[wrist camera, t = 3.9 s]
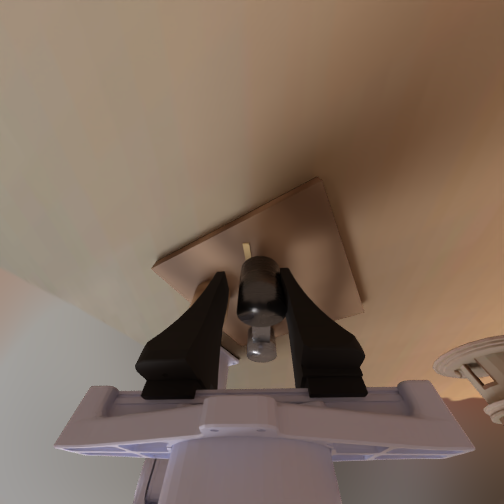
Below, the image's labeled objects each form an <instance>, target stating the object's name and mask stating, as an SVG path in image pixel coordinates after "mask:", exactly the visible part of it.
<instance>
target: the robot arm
mask: <svg viewBox="0 0 504 504" xmlns="http://www.w3.org/2000/svg"><path fill="white" fill-rule="evenodd" d="M280 277H281V283H282V287H283V293H284V298H285V304H286V310H287V313H286V316H285V317H286V321H287V326H288V331H289V338H290V346H291V353H292V361H293V369H294V378H295V386H296V388H289V389H226V383H227V374H228V366H230V365H234V364H238V363H239V360H238V359H237V358H235V357H234V356H233V355H232V354H230V353H229V352H228V351H226V350H225V349H224V348H223V347H221V337H222V330H223V324H224V319H225V315H226V310H227V305H228V298H229V287H228V282H227V278H226V274H225V271H221V272H216V274H215V275H214V277H213V278H212V280H211V281H210V283H209V284H208V286H207V287H206V289H205V290H204V291H203V293H202V294H201V295H200V296H199V298H198V299H197V300H196V301H195V302H194V304H193V305H192V306H191V307H190V308H189V309H188V310H187V311H186V312H185V313H184V314H183V315H182V316H181V317H180V318H179V319H178V320H176V321H175V322H174V323H173V324H172V325H170V326H169V327H168V328H167V329H165V330H164V331H163V332H162V333H160V334H159V335H157V336H156V337H154V338H153V339H152V340H150V341H149V342H147V344H146V345H145V347H144V349H143V351H142V353H141V355H140V357H139V359H138V361H137V363H136V365H135V368H136V370H137V372H138V373H139V374H140V375H141V376H143V377H144V378H145V379H146V380H147V381H146V384H145V386H144V389H143V391H119V390H118V389H117V388H115V387H113V386H91V387H90V388H89V390H88V392H87V393H86V395H85V396H84V398H83V400H82V401H81V403H80V404H79V406H78V407H77V409H76V411H75V412H74V414H73V416H72V417H71V419H70V420H69V422H68V423H67V425H66V427H65V428H64V430H63V431H62V433H61V435H60V436H59V438H58V439H57V441H56V443H55V444H54V448H57V449H61V450H65V451H69V452H74V453H77V454H82V455H86V456H122V457H140V458H146V459H145V462H144V465H143V468H142V471H141V474H140V477H139V481H138V484H137V488H136V491H135V495H134V501H133V504H342V500H341V496H340V492H339V487H338V483H337V479H336V474H335V471H334V466H333V461H358V460H384V459H386V460H387V459H445V458H448V457H452V456H456V455H460V454H463V453H467V452H471V451H474V450H475V447H474V445H473V444H472V443H471V441H470V440H469V438H468V437H467V436H466V434H465V432H464V431H463V429H462V428H461V426H460V425H459V423H458V422H457V420H456V419H455V418H454V416H453V415H452V413H451V412H450V410H449V409H448V407H447V406H446V405H445V403H444V401H443V400H442V398H441V397H440V395H439V394H438V392H437V391H436V390H435V388H434V387H433V385H432V384H431V382H430V381H428V380H407V381H402V382H400V383H399V384H398V385H397V387H366V386H365V384H364V381H363V379H362V376H363V374H362V371H361V369H360V366H361V364H362V362H363V361H364V359H365V354H364V351H363V349H362V347H361V346H360V344H359V342H358V341H357V339H356V338H355V336H354V335H353V334H351V333H350V332H348V331H347V330H345V329H344V328H342V327H341V326H340V325H338V324H337V323H336V322H335V321H333V320H332V319H331V318H330V317H329V316H327V315H326V314H325V313H324V312H323V311H322V310H321V309H320V308H319V307H318V306H317V305H316V304H315V303H314V302H313V301H312V300H311V299H310V298H309V297H308V296H307V294H306V293H305V292H304V291H303V289H302V288H301V287H300V285H299V284H298V283H297V281H296V280H295V278H294V277H293V275H292V273H291V271H290V269H289V268H280ZM147 490H148V491H147Z"/></svg>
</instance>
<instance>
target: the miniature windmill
mask: <svg viewBox="0 0 504 504" xmlns="http://www.w3.org/2000/svg"><path fill="white" fill-rule="evenodd" d="M433 369H434V370H435V372H436V373H438V374H440V375H443V376H447V377H453V378H467V379H468V380H469V381H470V382H471V383H472V385H473V386H474V387H475V388H476V389H477V391H478V392H479V393H480V394H481V395H482V397H483V398H484V399H485V400H486V401H487V403H488V404H489V405H488V406H486V407H485V408H484V411H485V413H486V414H488V415H490V416H491V420H492V421H493V422H494V423H498V424H503V425H504V335H503V336H497V337H491V338H486V339H482V340H478V341H475V342H471V343H468V344H465V345H463V346H460V347H458V348H455V349H453V350H451V351H449V352H447V353H445V354H444V355H442V356H440V357H439V358H438V359H437V360H436V361H435V362H434V365H433ZM486 376H490V377H491V378H492V379H493V380H494V382H491V383H488V384H486V385H484V384H483V383H482V381H481V380H480V379H479V378H478V377H486Z"/></svg>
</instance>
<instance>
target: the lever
mask: <svg viewBox="0 0 504 504" xmlns="http://www.w3.org/2000/svg"><path fill="white" fill-rule="evenodd" d="M286 313H287V310H286V304H285V298H284V293H283V287H282V283H281V277H280V269H279V265H278V264H277V262H276V261H275V260H273V259H272V258H269V257H266V256H254V257H251V258H249V259H247V260H246V261H245V262H244V263H243V264H242V266H241V271H240V281H239V291H238V302H237V316H238V318H239V319H240V320H241V321H242V322H243V323H245V324H247V325H249V326H252V327H250V328H249V329H248V339H247V357H248V359H250V360H252V361H254V362H269V361H272V360H274V359H275V358H276V356H277V354H276V343H275V332H274V329H273V328H272V327H270V326H273V325H276V324H278V323H280V322H281V321H282V320H283V319H284V318H285V316H286Z"/></svg>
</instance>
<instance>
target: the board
mask: <svg viewBox="0 0 504 504" xmlns="http://www.w3.org/2000/svg"><path fill="white" fill-rule="evenodd" d="M254 256H266V257H269V258H272V259H273V260H275V261H276V262H277V264H278V265H279V269H280V268H289V269H290V271H291V273H292V275H293V277H294V278H295V280H296V281H297V283H298V284H299V285H300V287H301V288H302V289H303V291H304V292H305V293H306V294H307V296H308V297H309V298H310V299H311V300H312V301H313V302H314V303H315V304H316V305H317V306H318V307H319V308H320V309H321V310H322V311H323V312H324V313H325V314H326V315H327V316H329V317H330V318H331V319H332V320H333V321H335V320H339V319H342V318H346V317H350V316H353V315H357V314H360V313H364V309H363V306H362V303H361V300H360V297H359V294H358V290H357V287H356V284H355V281H354V278H353V275H352V272H351V269H350V266H349V263H348V259H347V256H346V253H345V250H344V247H343V244H342V241H341V238H340V235H339V231H338V228H337V225H336V222H335V219H334V216H333V213H332V210H331V207H330V204H329V200H328V197H327V194H326V191H325V188H324V185H323V182H322V180H321V179H320V178H319V177H316V178H314V179H312V180H310V181H308V182H306V183H304V184H302V185H300V186H299V187H297V188H295V189H293V190H291V191H289V192H287V193H285V194H283V195H282V196H280V197H278V198H276V199H274V200H272V201H270V202H268V203H266V204H264V205H263V206H261V207H259V208H257V209H255V210H253V211H251V212H249V213H247V214H246V215H244V216H242V217H240V218H238V219H236V220H234V221H232V222H230V223H228V224H227V225H225V226H223V227H221V228H219V229H217V230H215V231H213V232H211V233H210V234H208V235H206V236H204V237H202V238H200V239H198V240H196V241H194V242H192V243H191V244H189V245H187V246H185V247H183V248H181V249H179V250H177V251H175V252H174V253H172V254H170V255H168V256H166V257H164V258H162V259H160V260H158V261H156V263H155V264H154V265H153V267H152V268H151V269H152V270H153V271H154V272H155V273H156V274H158V275H159V276H160V277H161V278H162V279H163V280H165V281H166V282H167V283H168V284H169V285H170V286H172V287H173V288H174V289H175V290H176V291H177V292H179V293H180V294H181V295H182V296H183V297H184V298H186V299H187V300H188V301H189V302H190V303H191V301H192V299H193V296H194V293H195V290H196V288H197V286H198V285H199V284H200V283H202V282H206V281H211V280H212V278H213V277H214V275H215V274H216V272H221V271H225V274H226V278H227V282H228V287H229V290H230V294H231V295H230V302H229V309H228V316H227V320H226V322H225V323H224V324H223V331H224V332H225V333H226V334H227V335H229V336H230V337H231V338H232V339H233V340H234V341H235V342H237V343H238V344H239V345H240V346H245V345H247V339H248V329H249V328H250V327H252V326H249V325H247V324H245V323H243V322H242V321H241V320H240V319H239V318H238V316H237V302H238V291H239V281H240V271H241V266H242V264H243V263H244V262H245V261H246V260H247V259H249V258H251V257H254ZM270 327H272V328H273V329H274V332H275V337H277V336H281V335H285V334H288V333H289V331H288V326H287V321H286V317H285V318H284V319H283V320H282V321H281V322H280V323H278V324H276V325H273V326H270Z"/></svg>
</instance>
